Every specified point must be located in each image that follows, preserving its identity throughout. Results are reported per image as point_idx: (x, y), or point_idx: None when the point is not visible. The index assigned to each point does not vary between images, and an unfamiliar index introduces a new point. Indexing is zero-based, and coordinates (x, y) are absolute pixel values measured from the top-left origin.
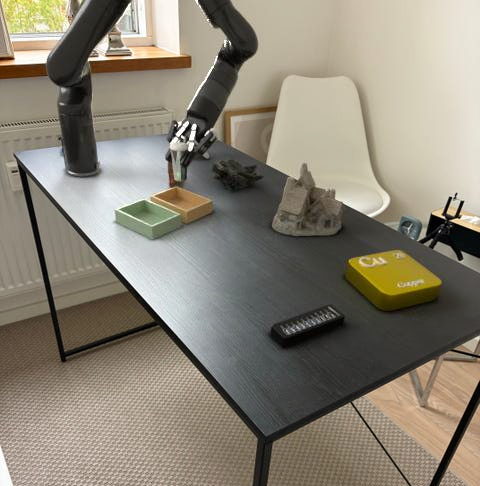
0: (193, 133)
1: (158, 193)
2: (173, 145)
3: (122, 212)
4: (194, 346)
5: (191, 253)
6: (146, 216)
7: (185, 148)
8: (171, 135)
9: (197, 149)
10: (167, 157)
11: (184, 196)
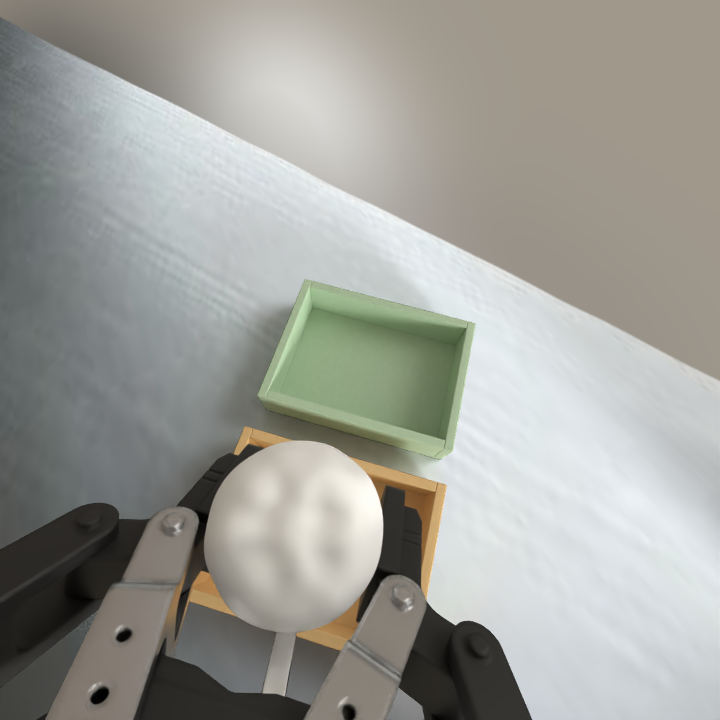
0: (93, 690)
1: (433, 530)
2: (322, 459)
3: (440, 316)
4: (86, 68)
5: (177, 286)
6: (401, 410)
7: (215, 497)
8: (471, 695)
9: (84, 512)
10: (385, 487)
11: (347, 631)
